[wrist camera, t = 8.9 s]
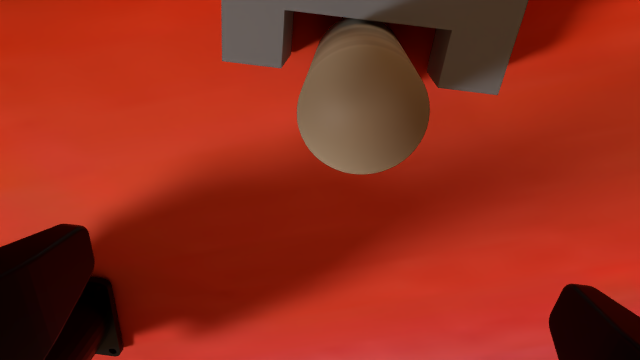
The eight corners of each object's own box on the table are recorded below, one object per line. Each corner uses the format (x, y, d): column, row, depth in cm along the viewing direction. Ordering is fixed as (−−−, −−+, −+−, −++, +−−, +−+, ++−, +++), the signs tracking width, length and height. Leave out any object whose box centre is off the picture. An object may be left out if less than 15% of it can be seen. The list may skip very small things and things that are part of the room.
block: (478, 77, 17) (497, 95, 15) (239, 48, 17) (222, 60, 15) (509, -29, 15) (537, -28, 13) (240, -61, 15) (220, -66, 13)
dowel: (389, 107, 18) (409, 183, 12) (310, 94, 18) (289, 163, 12) (410, 23, 16) (446, 60, 10) (322, 8, 16) (306, 36, 10)
